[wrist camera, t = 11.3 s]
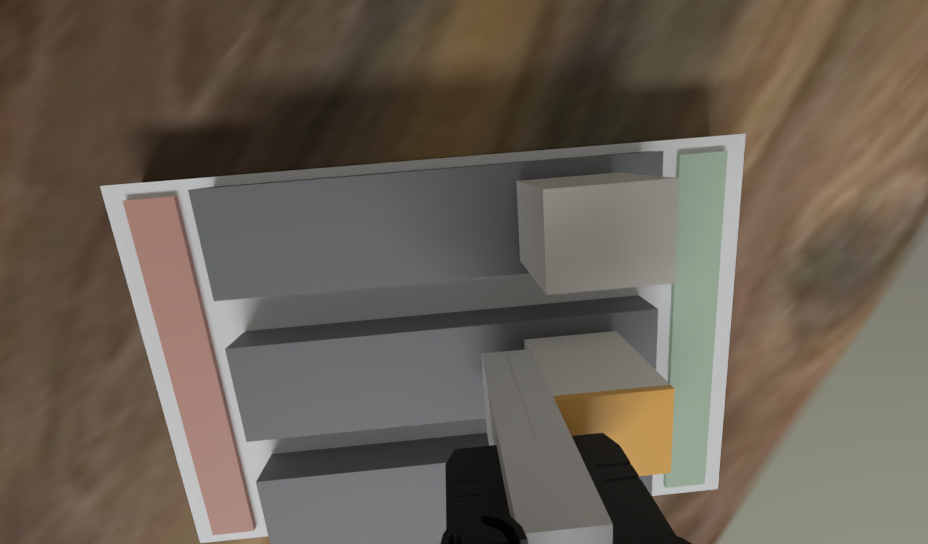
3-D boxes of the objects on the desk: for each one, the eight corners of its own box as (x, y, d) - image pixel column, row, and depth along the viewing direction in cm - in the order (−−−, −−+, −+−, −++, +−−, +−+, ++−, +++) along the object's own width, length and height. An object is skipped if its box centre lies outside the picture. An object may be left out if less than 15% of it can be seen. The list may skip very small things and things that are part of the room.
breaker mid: (527, 406, 15) (554, 485, 11) (523, 339, 14) (551, 400, 11) (615, 397, 15) (670, 473, 11) (616, 330, 14) (674, 389, 11)
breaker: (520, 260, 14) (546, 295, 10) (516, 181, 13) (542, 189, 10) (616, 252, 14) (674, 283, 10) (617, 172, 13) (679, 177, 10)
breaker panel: (224, 504, 20) (178, 577, 16) (140, 182, 16) (61, 189, 13) (691, 457, 20) (741, 517, 17) (710, 136, 17) (778, 131, 13)
